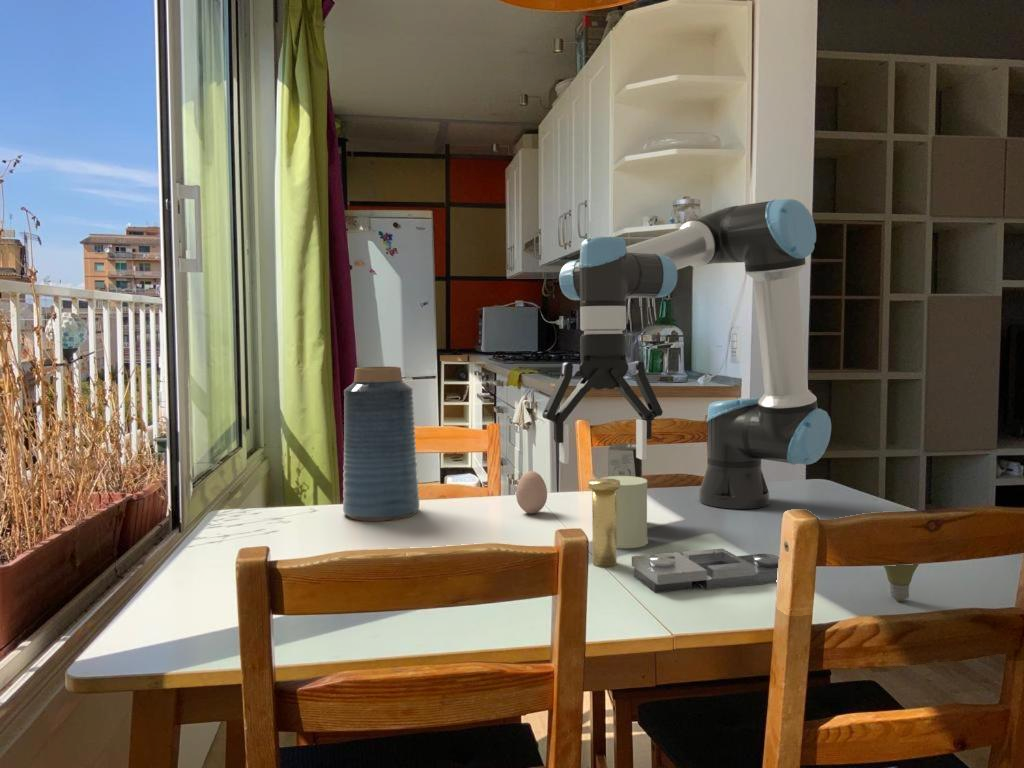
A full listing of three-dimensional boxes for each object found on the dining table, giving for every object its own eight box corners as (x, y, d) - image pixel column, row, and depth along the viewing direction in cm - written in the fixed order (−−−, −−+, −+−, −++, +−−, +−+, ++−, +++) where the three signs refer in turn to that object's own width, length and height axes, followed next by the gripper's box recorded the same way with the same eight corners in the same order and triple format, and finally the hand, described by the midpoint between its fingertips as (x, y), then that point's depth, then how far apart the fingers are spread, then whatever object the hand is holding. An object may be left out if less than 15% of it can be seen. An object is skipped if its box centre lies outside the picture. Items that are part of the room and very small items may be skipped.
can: (588, 539, 153) (588, 475, 152) (631, 533, 156) (630, 471, 156) (613, 551, 144) (613, 484, 144) (657, 545, 148) (657, 479, 147)
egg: (531, 518, 170) (530, 475, 169) (510, 513, 174) (509, 471, 174) (553, 513, 174) (553, 471, 173) (532, 508, 179) (532, 467, 178)
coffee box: (641, 532, 157) (640, 449, 156) (607, 531, 158) (607, 448, 157) (643, 521, 166) (642, 442, 165) (611, 520, 167) (610, 442, 166)
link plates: (765, 562, 136) (766, 538, 136) (800, 580, 127) (801, 554, 126) (631, 574, 131) (631, 550, 130) (657, 594, 121) (657, 568, 121)
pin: (613, 558, 140) (613, 477, 139) (624, 566, 135) (624, 483, 134) (584, 560, 139) (584, 479, 138) (595, 569, 134) (594, 485, 133)
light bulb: (870, 594, 119) (871, 527, 119) (906, 593, 120) (907, 526, 119) (890, 608, 114) (892, 537, 113) (929, 606, 114) (930, 536, 114)
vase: (327, 518, 172) (323, 369, 170) (369, 502, 187) (365, 365, 185) (395, 524, 166) (391, 370, 164) (432, 507, 181) (429, 365, 179)
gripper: (663, 331, 141) (663, 453, 142) (523, 333, 135) (524, 460, 136) (682, 332, 133) (682, 460, 135) (536, 333, 127) (536, 467, 129)
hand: (603, 460), depth 136 cm, fingers open, 13 cm apart
